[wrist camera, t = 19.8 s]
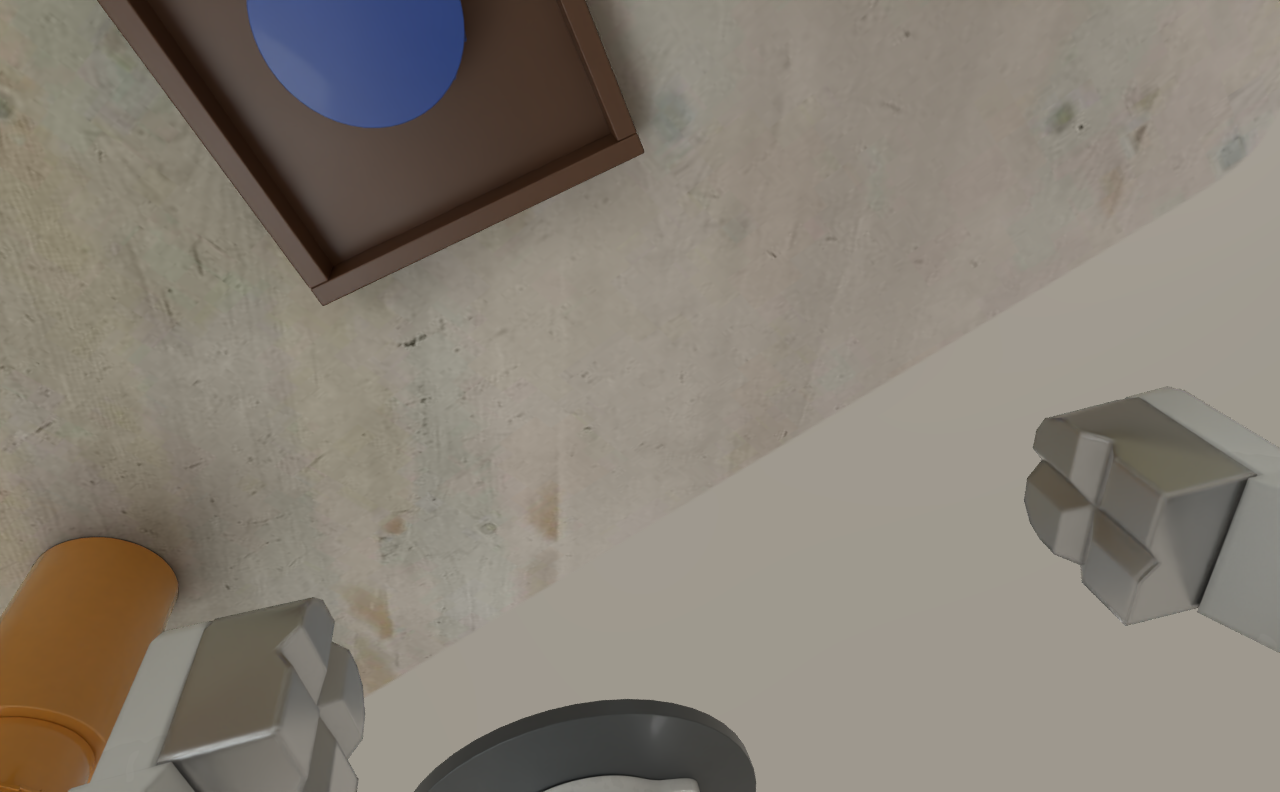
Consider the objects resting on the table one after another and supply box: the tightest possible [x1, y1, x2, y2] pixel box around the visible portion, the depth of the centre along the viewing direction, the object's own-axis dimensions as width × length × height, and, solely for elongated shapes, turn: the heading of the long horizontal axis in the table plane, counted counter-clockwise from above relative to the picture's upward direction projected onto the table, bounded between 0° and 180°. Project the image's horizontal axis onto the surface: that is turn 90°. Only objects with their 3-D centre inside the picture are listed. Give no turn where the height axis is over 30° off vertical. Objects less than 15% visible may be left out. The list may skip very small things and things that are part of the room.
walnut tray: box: [97, 0, 644, 306], centre depth 25 cm, size 16×14×2 cm
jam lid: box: [246, 0, 467, 128], centre depth 24 cm, size 6×6×3 cm
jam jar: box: [0, 537, 179, 792], centre depth 31 cm, size 6×6×12 cm
